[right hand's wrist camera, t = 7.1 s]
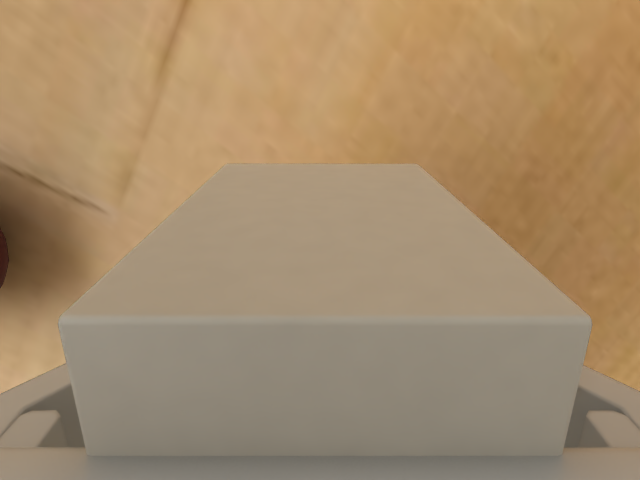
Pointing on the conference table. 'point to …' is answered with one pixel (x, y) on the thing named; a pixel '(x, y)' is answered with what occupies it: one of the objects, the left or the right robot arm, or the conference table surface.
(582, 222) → the conference table surface
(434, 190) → the bar
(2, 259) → the dark red round ball
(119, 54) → the conference table surface
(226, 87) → the conference table surface
